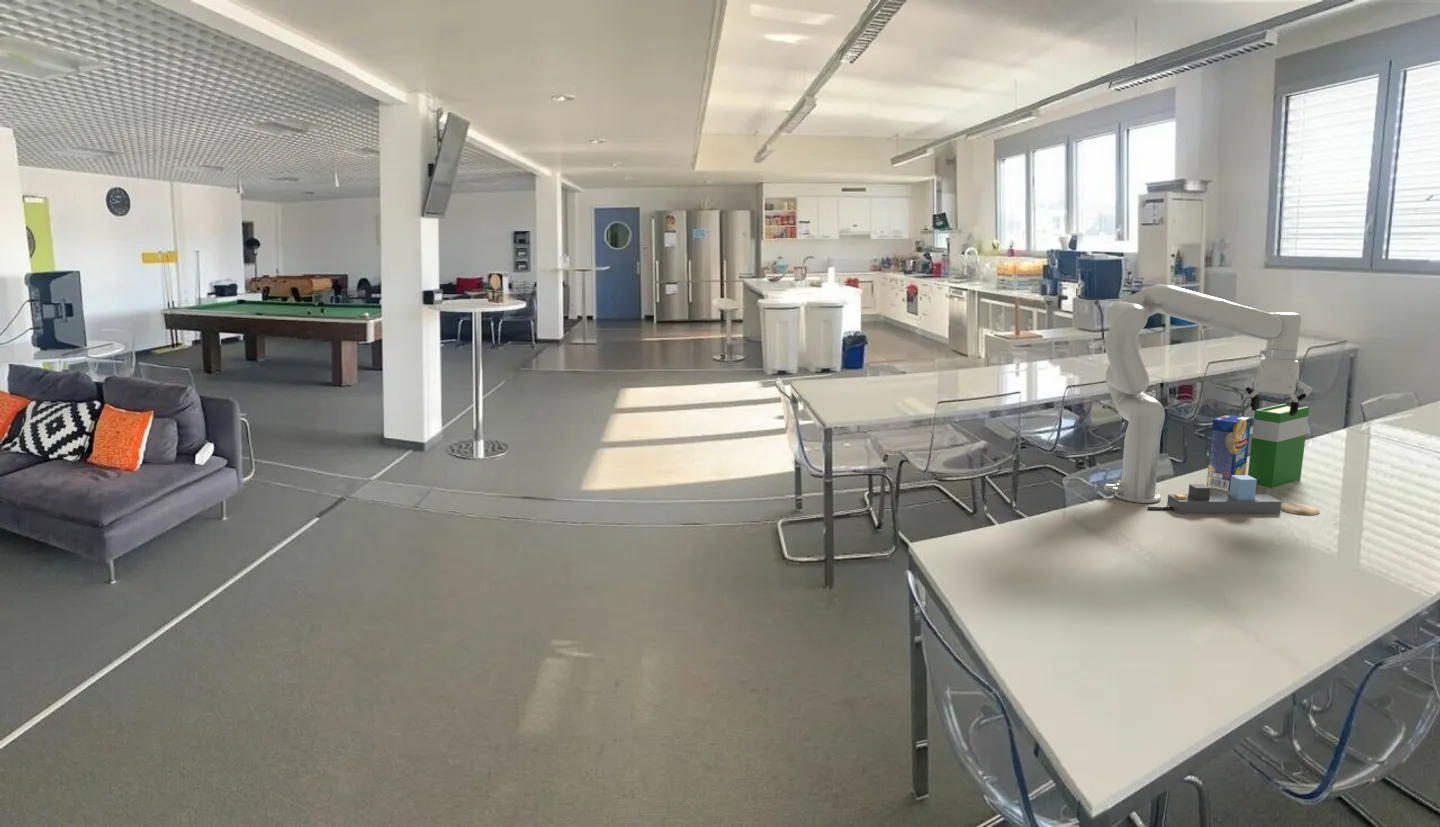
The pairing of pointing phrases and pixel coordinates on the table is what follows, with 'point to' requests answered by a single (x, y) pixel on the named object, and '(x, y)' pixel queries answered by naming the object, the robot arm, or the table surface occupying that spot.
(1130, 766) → the table surface
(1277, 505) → the power strip
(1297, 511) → the coaster
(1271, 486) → the hardback book
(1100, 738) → the table surface
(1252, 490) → the block
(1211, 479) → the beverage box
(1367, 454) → the table surface
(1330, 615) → the table surface
